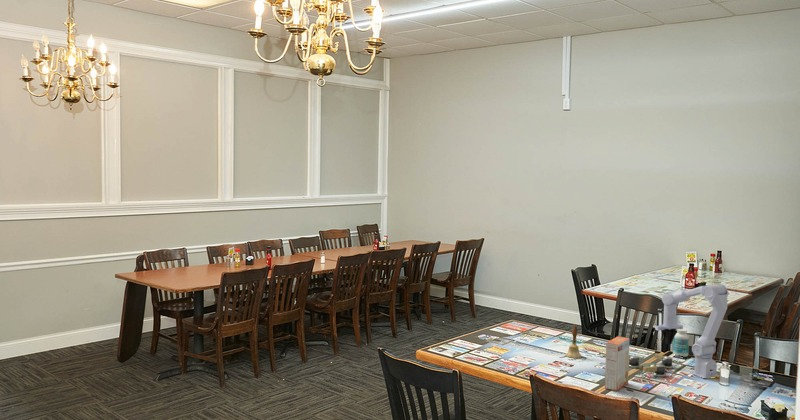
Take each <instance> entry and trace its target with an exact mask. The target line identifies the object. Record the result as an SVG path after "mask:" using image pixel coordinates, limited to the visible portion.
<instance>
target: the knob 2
mask: <svg viewBox="0 0 800 420" xmlns="http://www.w3.org/2000/svg"><path fill="white" fill-rule="evenodd" d="M654 359H657V360H660V361H661V364H662V365H665V366H672V365H673V358H672V357H671V356H667V355H662V354H661V353H654Z"/></svg>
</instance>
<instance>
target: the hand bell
mask: <svg viewBox="0 0 800 420" xmlns="http://www.w3.org/2000/svg"><path fill="white" fill-rule="evenodd" d="M571 334H572V343H571V344H569V346H568V347H569V348H568V351H567V352H566V353H565V354H564V355H565V357H567V358H570V359H581V358H582V357H583V355H581V353H580V348H579V346H578V345H577V337H578V336H577V335H578V326H577V325H573V327H572V332H571Z"/></svg>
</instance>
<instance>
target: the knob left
mask: <svg viewBox="0 0 800 420" xmlns="http://www.w3.org/2000/svg"><path fill="white" fill-rule="evenodd" d="M655 364H656V365H655V366H648V367H643V369H642V372H644V373H652V372H654V373H656V374H666V372H665V366H664V365H662V363H655Z"/></svg>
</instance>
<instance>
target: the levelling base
mask: <svg viewBox="0 0 800 420" xmlns="http://www.w3.org/2000/svg"><path fill="white" fill-rule="evenodd" d="M656 364H657V363H653V362H646V363H645V362H644V363H642V364H639V365H637V366H635V365H630V364H629V369H630V368H631V369H640V368H642V369H641V370H643V367H648V366H655V365H656ZM664 366H665V365H664ZM666 368H668V369H666ZM672 368H673V369H674V365H673V364H672V366H665V371H667V370H673V369H672ZM652 375H653V376H654V377H656V376H657V377H658V378H666V377H667V374H666V373H665V374H656V373H654V372H653V373H652ZM665 376H666V377H665ZM657 377H656V378H657Z"/></svg>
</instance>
